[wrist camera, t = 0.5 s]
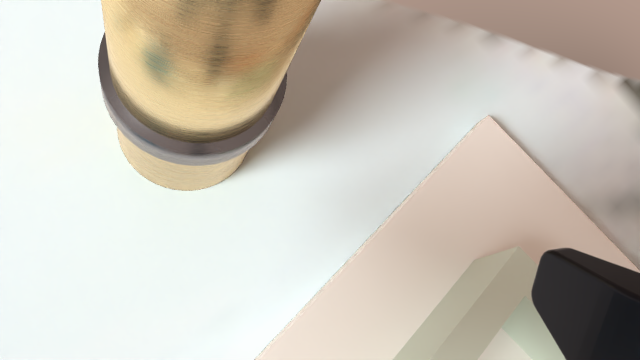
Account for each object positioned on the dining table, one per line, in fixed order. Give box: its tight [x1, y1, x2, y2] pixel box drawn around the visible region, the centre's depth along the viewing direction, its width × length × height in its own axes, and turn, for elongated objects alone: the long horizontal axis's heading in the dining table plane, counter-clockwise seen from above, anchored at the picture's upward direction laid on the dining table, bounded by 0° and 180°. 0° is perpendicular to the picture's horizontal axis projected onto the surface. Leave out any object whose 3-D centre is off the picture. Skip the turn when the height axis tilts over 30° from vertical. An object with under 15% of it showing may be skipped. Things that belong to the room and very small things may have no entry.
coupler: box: [98, 0, 321, 191], centre depth 16 cm, size 6×6×13 cm
